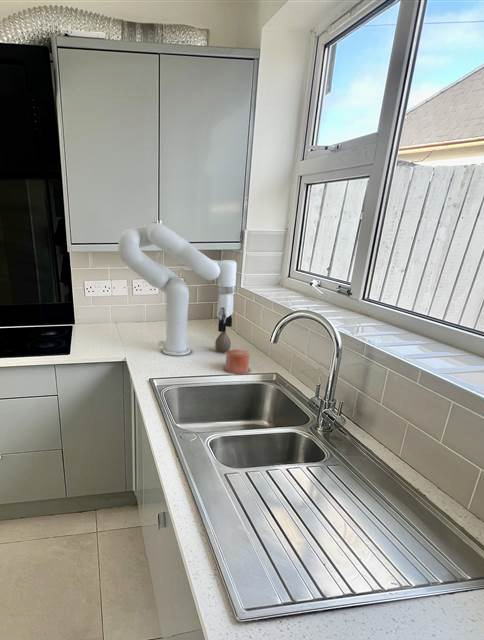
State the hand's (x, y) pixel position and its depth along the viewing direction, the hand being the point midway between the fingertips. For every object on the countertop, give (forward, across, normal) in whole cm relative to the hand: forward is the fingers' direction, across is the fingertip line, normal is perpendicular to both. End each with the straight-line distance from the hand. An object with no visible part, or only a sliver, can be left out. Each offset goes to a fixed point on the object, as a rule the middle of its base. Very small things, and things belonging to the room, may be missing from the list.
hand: (225, 329), depth 180 cm
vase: (+11, 0, -1) cm, 11 cm away
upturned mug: (+11, +20, +11) cm, 25 cm away
